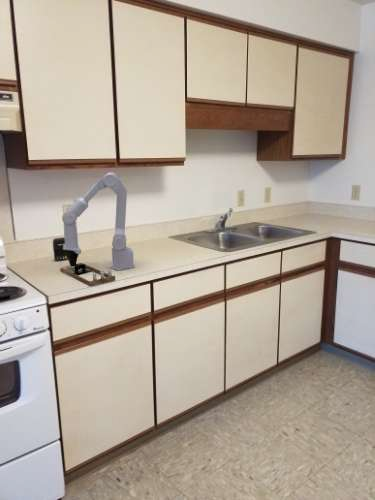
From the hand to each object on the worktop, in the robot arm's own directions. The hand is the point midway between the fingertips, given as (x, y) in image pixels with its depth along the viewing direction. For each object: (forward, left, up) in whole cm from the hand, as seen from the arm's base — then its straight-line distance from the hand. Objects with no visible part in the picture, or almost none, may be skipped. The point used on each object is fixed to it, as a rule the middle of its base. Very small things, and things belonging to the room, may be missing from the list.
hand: (73, 266), depth 182 cm
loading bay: (0, +13, -2) cm, 13 cm away
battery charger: (-3, -19, -2) cm, 19 cm away
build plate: (0, +7, -2) cm, 7 cm away
